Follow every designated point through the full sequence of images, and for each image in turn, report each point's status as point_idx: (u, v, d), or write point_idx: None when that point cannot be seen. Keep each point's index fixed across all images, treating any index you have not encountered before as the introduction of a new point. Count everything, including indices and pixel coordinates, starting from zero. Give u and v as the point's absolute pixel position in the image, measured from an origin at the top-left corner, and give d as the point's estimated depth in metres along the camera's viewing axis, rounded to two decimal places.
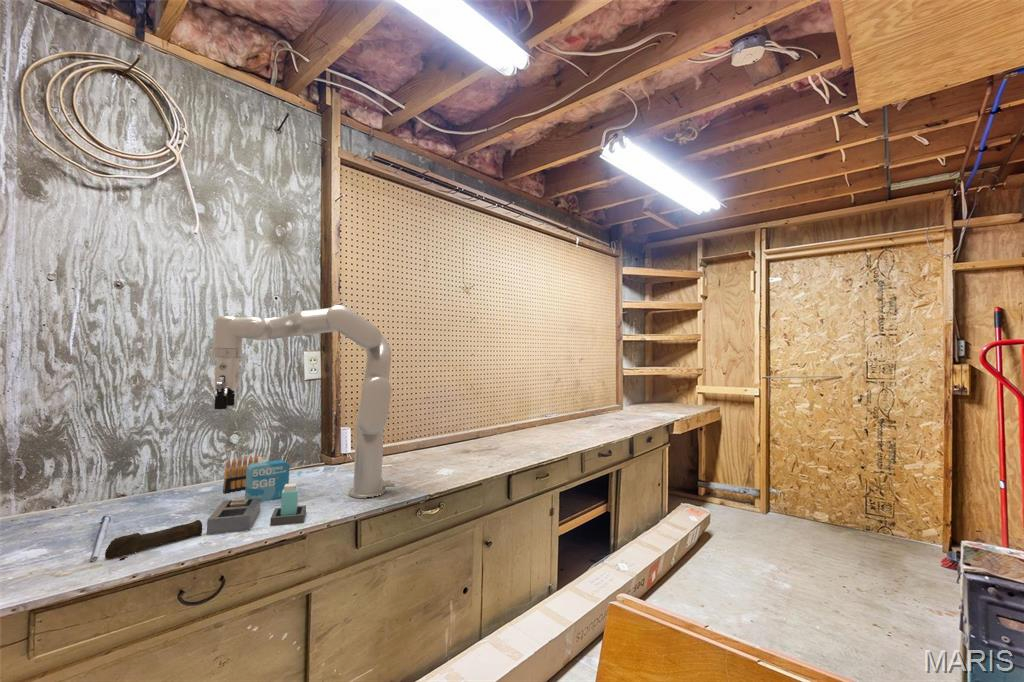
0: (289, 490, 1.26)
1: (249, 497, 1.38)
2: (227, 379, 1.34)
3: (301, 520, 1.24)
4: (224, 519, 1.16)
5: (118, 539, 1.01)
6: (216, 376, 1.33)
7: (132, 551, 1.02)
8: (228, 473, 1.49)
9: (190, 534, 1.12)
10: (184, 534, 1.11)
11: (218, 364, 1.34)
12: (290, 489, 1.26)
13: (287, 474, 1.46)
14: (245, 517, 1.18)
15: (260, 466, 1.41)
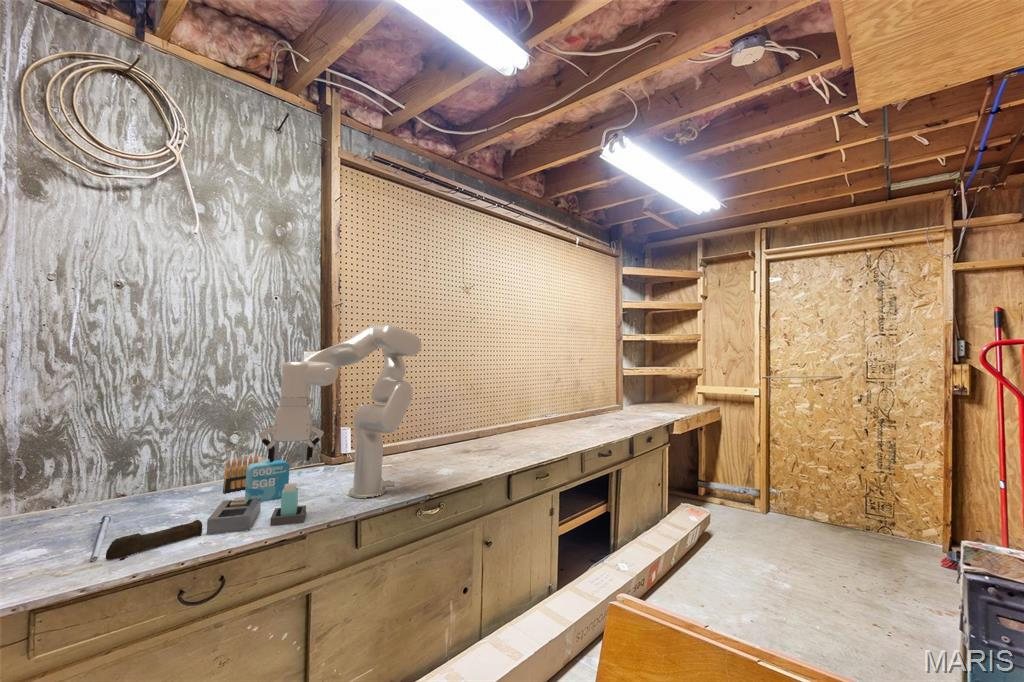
0: (289, 490, 1.26)
1: (249, 497, 1.38)
2: None
3: (301, 520, 1.24)
4: (224, 519, 1.16)
5: (119, 540, 1.00)
6: (310, 426, 1.28)
7: (133, 551, 1.02)
8: (228, 473, 1.49)
9: (190, 534, 1.12)
10: (185, 534, 1.11)
11: (309, 414, 1.28)
12: (290, 489, 1.26)
13: (287, 474, 1.46)
14: (245, 517, 1.18)
15: (260, 466, 1.41)
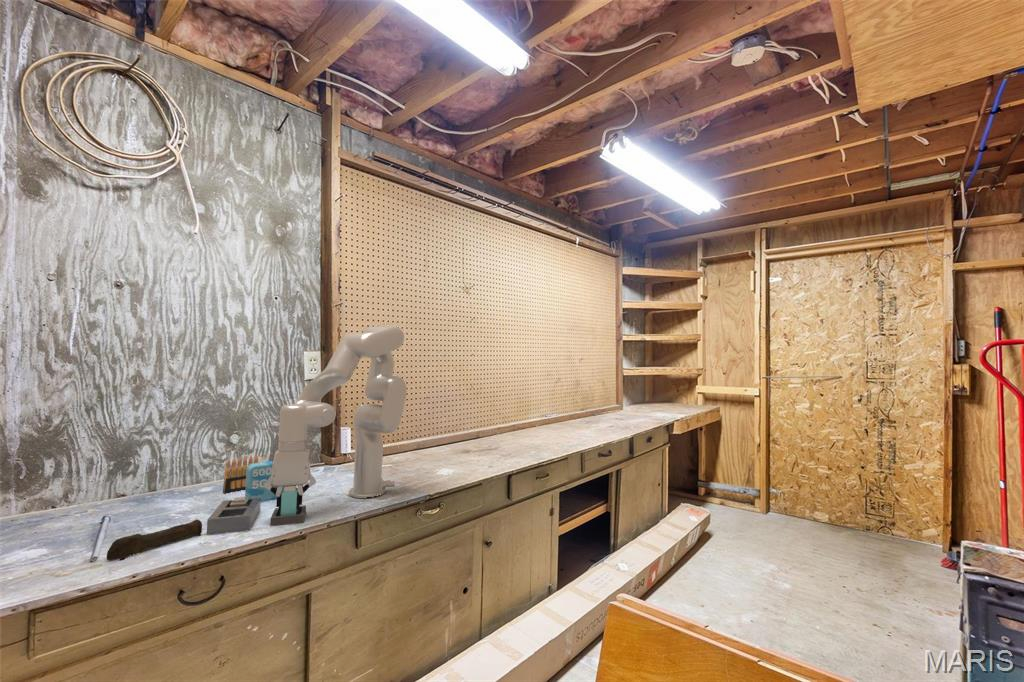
0: (289, 490, 1.26)
1: (249, 497, 1.38)
2: None
3: (301, 520, 1.24)
4: (224, 519, 1.16)
5: (120, 540, 1.00)
6: (308, 470, 1.28)
7: (134, 552, 1.02)
8: (228, 473, 1.49)
9: (190, 533, 1.12)
10: (185, 533, 1.11)
11: (308, 457, 1.28)
12: (290, 489, 1.26)
13: None
14: (245, 517, 1.18)
15: (260, 466, 1.41)
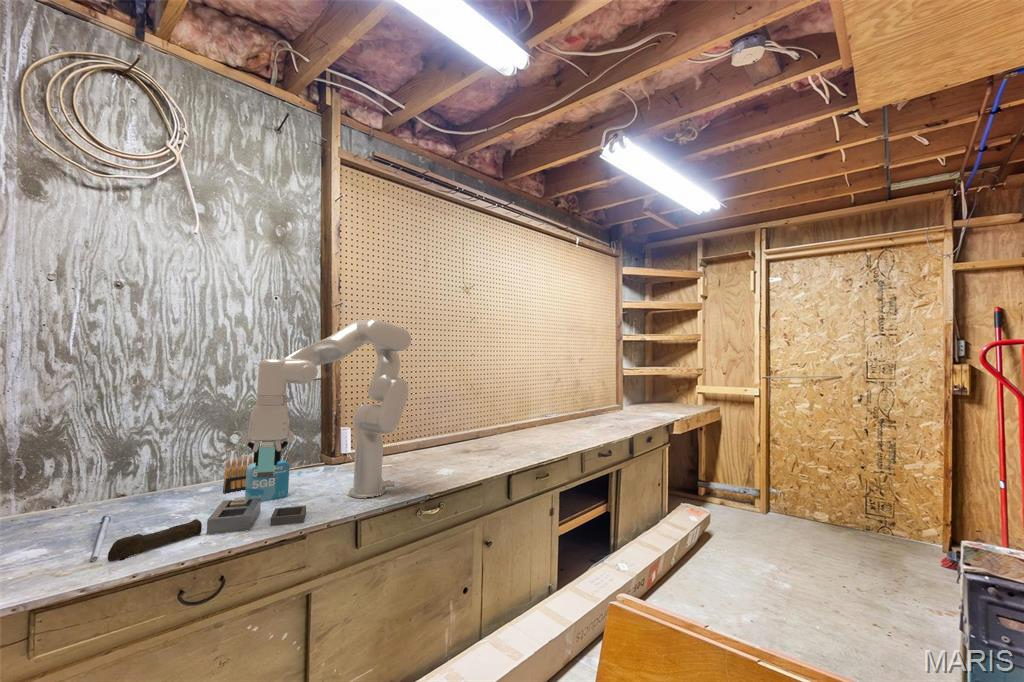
0: (267, 445, 1.23)
1: (249, 497, 1.38)
2: None
3: (301, 520, 1.24)
4: (224, 519, 1.16)
5: (121, 540, 1.00)
6: (287, 425, 1.25)
7: (135, 552, 1.02)
8: (228, 473, 1.49)
9: (190, 533, 1.12)
10: (185, 533, 1.11)
11: (287, 412, 1.25)
12: (268, 444, 1.23)
13: (287, 474, 1.46)
14: (245, 517, 1.18)
15: None
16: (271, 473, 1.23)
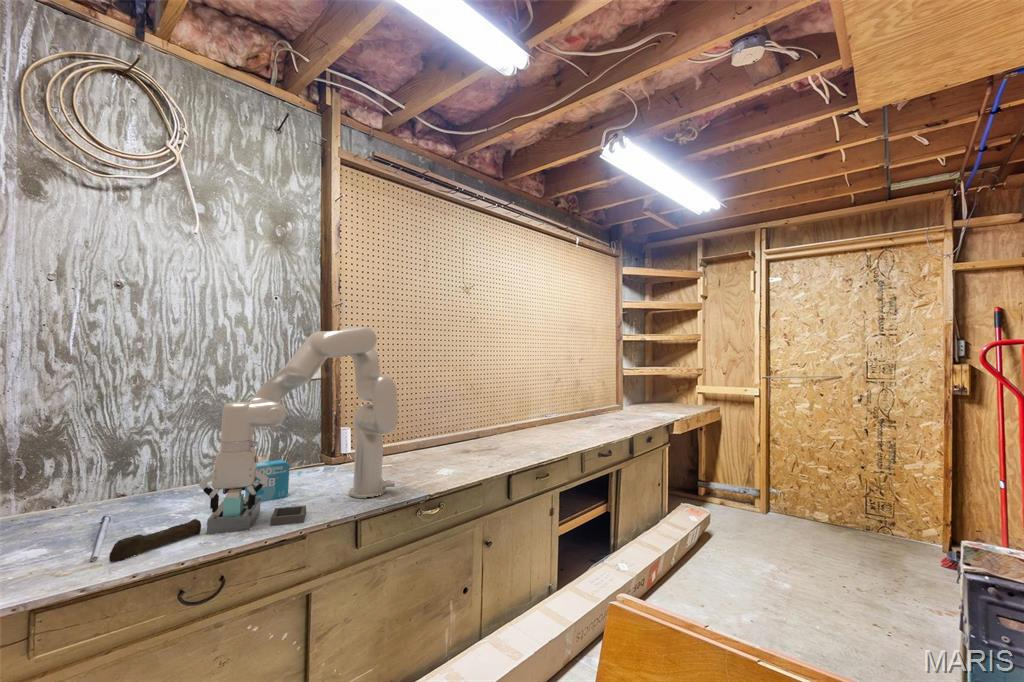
0: (232, 496, 1.19)
1: None
2: None
3: (301, 520, 1.24)
4: (224, 519, 1.16)
5: (122, 541, 1.00)
6: (253, 471, 1.21)
7: (136, 552, 1.02)
8: None
9: (189, 533, 1.12)
10: (185, 533, 1.11)
11: (253, 458, 1.21)
12: (233, 495, 1.19)
13: (287, 474, 1.46)
14: (245, 517, 1.18)
15: (260, 466, 1.41)
16: None
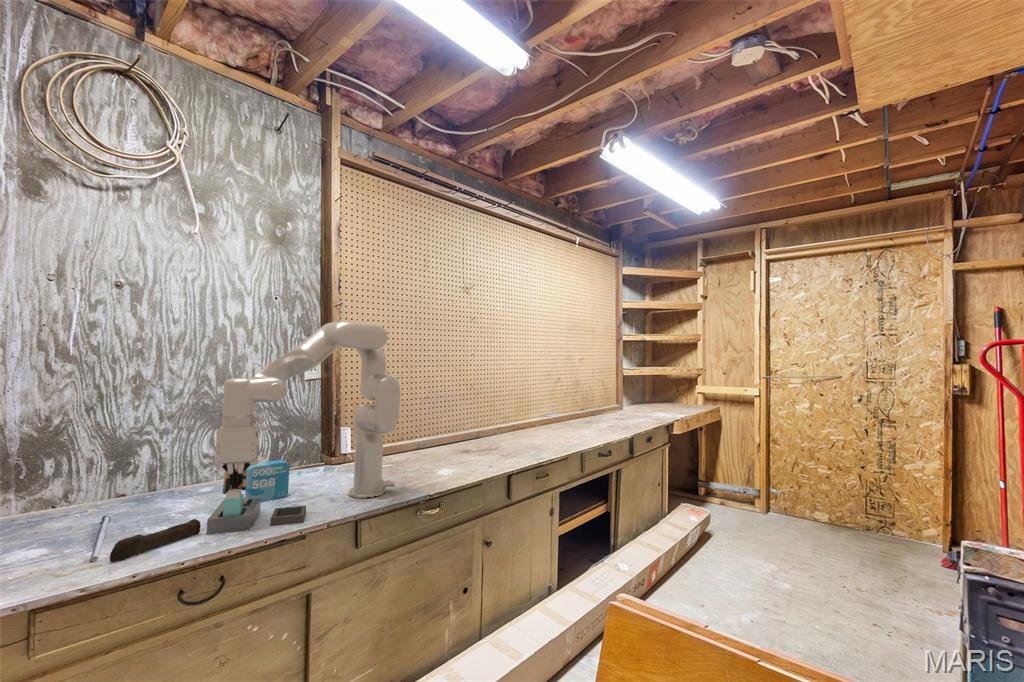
0: (232, 496, 1.19)
1: (249, 497, 1.38)
2: (258, 447, 1.24)
3: (301, 520, 1.24)
4: (224, 519, 1.16)
5: (123, 541, 1.00)
6: (256, 446, 1.21)
7: (136, 552, 1.02)
8: None
9: (189, 533, 1.12)
10: (184, 533, 1.11)
11: (255, 433, 1.21)
12: (233, 495, 1.19)
13: (287, 474, 1.46)
14: (245, 517, 1.18)
15: (260, 466, 1.41)
16: None
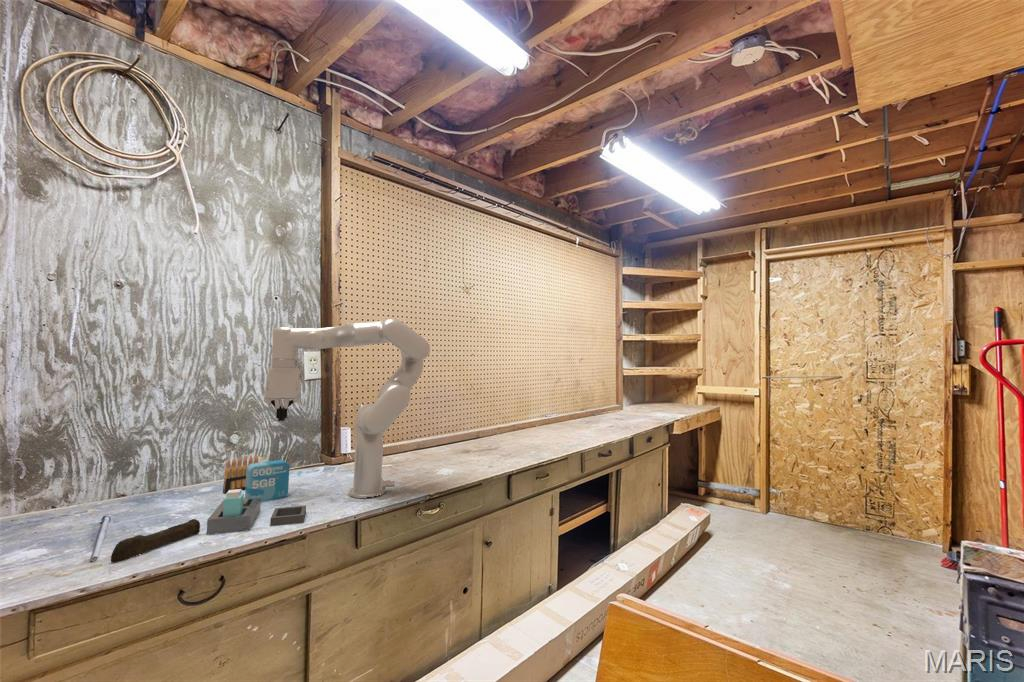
0: (232, 496, 1.19)
1: (249, 497, 1.38)
2: (300, 388, 1.44)
3: (301, 520, 1.24)
4: (224, 519, 1.16)
5: (124, 542, 0.99)
6: (299, 386, 1.41)
7: (137, 553, 1.02)
8: (228, 473, 1.49)
9: (189, 533, 1.13)
10: (184, 533, 1.11)
11: (298, 374, 1.41)
12: (233, 495, 1.19)
13: (287, 474, 1.46)
14: (245, 517, 1.18)
15: (260, 466, 1.41)
16: None
